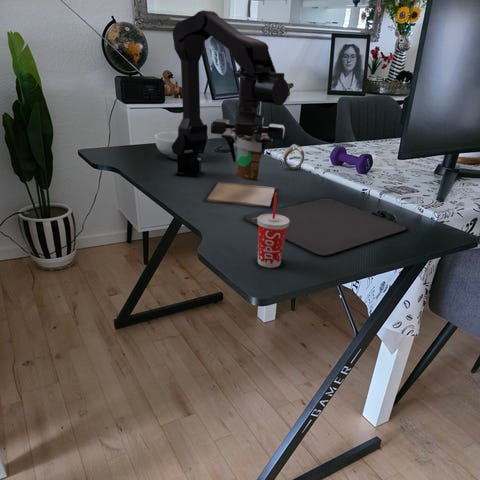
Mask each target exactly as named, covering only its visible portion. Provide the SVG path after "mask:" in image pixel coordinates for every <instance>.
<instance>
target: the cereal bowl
mask: <svg viewBox="0 0 480 480" xmlns="http://www.w3.org/2000/svg"><path fill="white" fill-rule="evenodd" d="M177 137H178V130H174V131H163V132H158V133H156V134H155V136H154V140H155V145H156V148H157V150H158V151H159V152H160V153H162V154H163V155H165V156H167V157H168V158H170V159H173V160H177V154H174V153H173V151H172V145H173V143H174V142H175V140H176V139H177Z"/></svg>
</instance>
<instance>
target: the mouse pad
mask: <svg viewBox="0 0 480 480" xmlns="http://www.w3.org/2000/svg"><path fill="white" fill-rule="evenodd" d="M264 214H273V209H271V210H266V211H263V212H258V213H253V214H249V215H246V216H245V217H244V219H245V220H246V221H247V222H249V223H251V224H253V225H255V226H256V227H257V226H258V223H257V221H258V220H257V218H258V216H260V215H264ZM275 214H277V215H282V216H285V217H287V218H288V219H289V220H290V221H289V226H288V227H287V231H286V236H285V241H288V242H290V243H292V244H295V245H296V246H298V247H300V248H302V249H305V250H306V251H308V252H310V253H312V254H315V255H317V256H321V257H327V256H331V255H334V254H337V253H340V252H343V251H346V250H350V249H353V248H355V247H359V246H361V245H362V246H363V245H365V244H368V243H372V242H374V241H377V240H380V239H383V238H386V237H388V236H393V235H395V234H398V233H401V232H405V231H406V230H407V227H406V226H404V225H402V224H400V223H397V222H394V221H391V220H389V219H386V218H384V217H381V216H378V215H375V214H373V213H370V212H368V211H365V210H362V209H359V208H357V207H355V206H351V205H349V204H346V203H343V202H341V201H338V200H336V199H332V198H321V199H316V200H312V201H307V202H303V203H298V204H293V205H289V206H285V207H279V208H276V211H275Z"/></svg>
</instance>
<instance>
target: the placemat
mask: <svg viewBox="0 0 480 480" xmlns="http://www.w3.org/2000/svg"><path fill="white" fill-rule="evenodd" d="M275 191H276V187H271V186H262V185H253V184H242V183H233V182H232V183H231V182H221V181H218V182H217V183H216V185H215V186H214V188H213V189H212V191H211V192H210V194H209V195H208V197H207V198H206V202H212V203H213V202H214V203H222V204H231V205H239V206H240V205H241V206H251V207H261V208H268V209H269V208H270V207H271V204H272V200H273V199H274V195H275Z"/></svg>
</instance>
